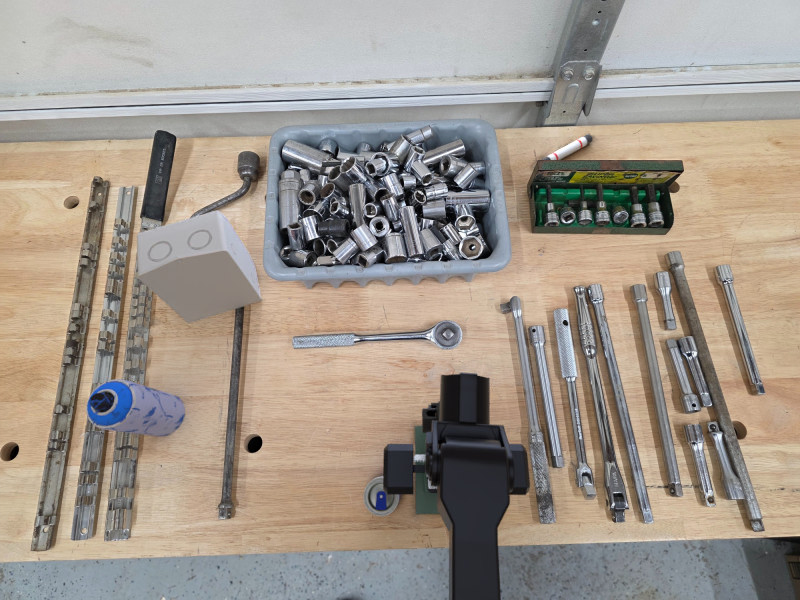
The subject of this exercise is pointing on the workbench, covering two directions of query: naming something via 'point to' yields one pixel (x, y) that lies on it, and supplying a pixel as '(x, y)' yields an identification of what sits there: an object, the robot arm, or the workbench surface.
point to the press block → (423, 479)
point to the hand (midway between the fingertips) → (449, 468)
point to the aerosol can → (134, 409)
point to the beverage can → (379, 498)
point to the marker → (570, 148)
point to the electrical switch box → (198, 266)
